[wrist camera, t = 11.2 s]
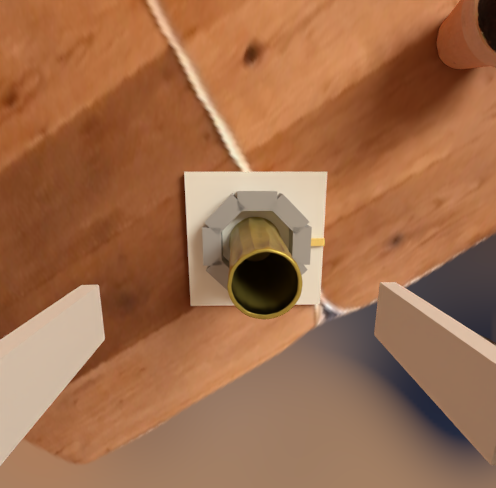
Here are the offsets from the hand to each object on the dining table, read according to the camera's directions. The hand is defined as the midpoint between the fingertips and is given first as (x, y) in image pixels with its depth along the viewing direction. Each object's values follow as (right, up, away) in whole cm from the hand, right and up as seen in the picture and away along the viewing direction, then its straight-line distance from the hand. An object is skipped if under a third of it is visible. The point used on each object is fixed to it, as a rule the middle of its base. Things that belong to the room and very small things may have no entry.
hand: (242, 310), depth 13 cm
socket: (+1, +4, +21) cm, 21 cm away
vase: (+1, +3, +20) cm, 21 cm away
